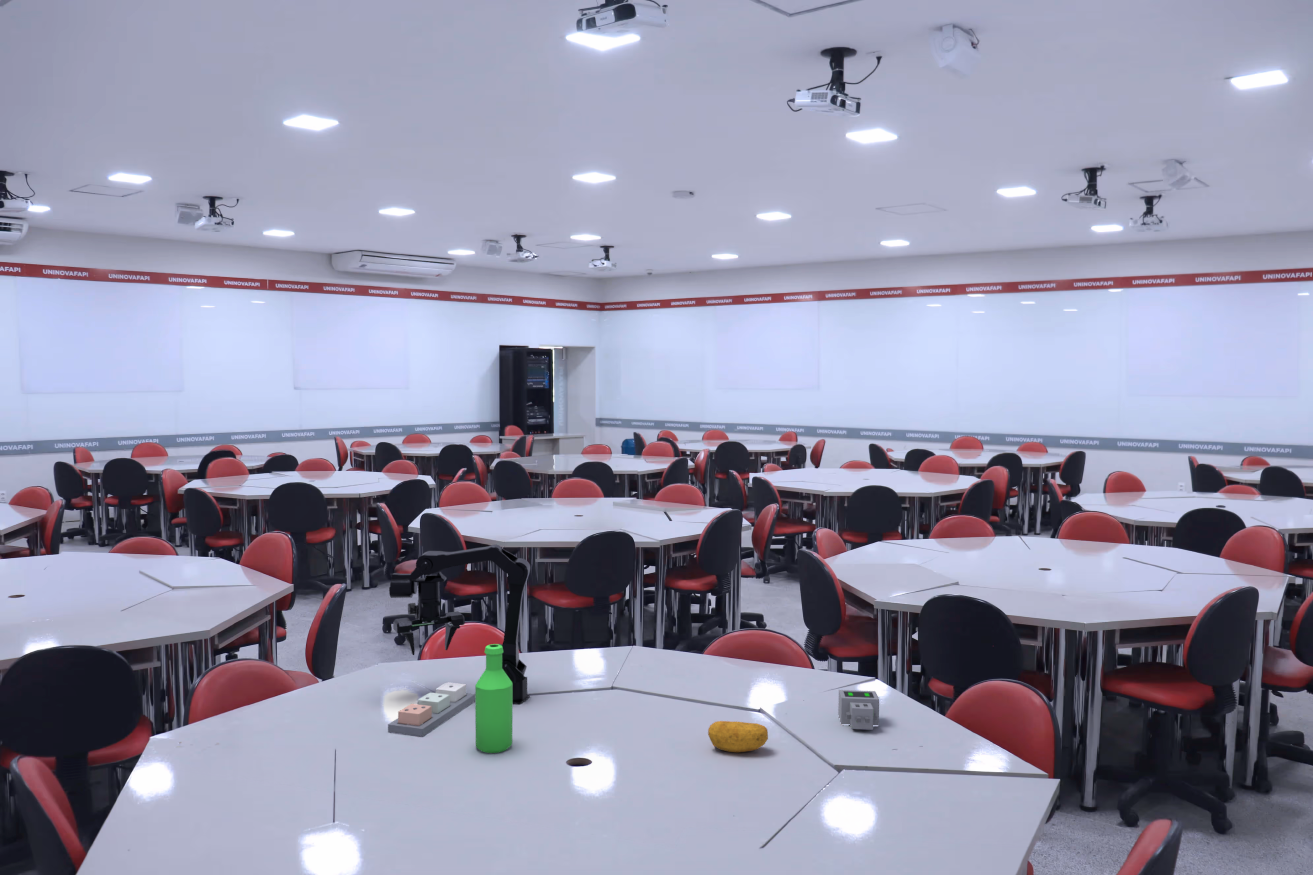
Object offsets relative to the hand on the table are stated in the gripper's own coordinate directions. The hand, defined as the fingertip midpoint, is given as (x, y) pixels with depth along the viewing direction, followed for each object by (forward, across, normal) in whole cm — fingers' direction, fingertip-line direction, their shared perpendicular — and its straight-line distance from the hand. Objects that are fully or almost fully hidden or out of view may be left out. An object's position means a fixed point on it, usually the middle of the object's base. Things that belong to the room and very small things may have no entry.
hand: (429, 652), depth 240 cm
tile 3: (+12, +8, +19) cm, 24 cm away
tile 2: (+12, +2, +12) cm, 17 cm away
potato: (+15, -57, +69) cm, 91 cm away
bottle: (+14, -6, +40) cm, 43 cm away
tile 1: (+12, -4, +6) cm, 14 cm away
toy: (+16, -95, +69) cm, 119 cm away
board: (+14, +2, +12) cm, 18 cm away
